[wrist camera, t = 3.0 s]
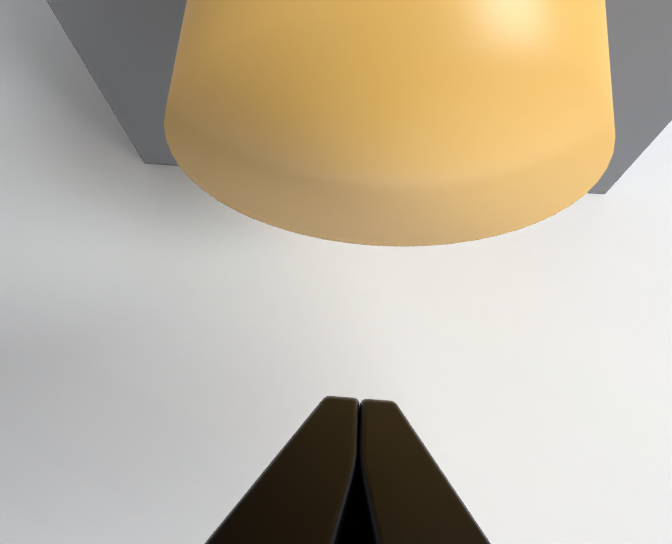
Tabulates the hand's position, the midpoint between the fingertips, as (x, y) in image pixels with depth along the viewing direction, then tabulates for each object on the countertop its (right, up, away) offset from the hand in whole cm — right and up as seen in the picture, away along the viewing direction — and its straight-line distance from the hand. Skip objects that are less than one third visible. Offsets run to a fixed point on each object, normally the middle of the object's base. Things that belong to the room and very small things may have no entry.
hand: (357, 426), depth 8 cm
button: (+1, +5, +5) cm, 7 cm away
